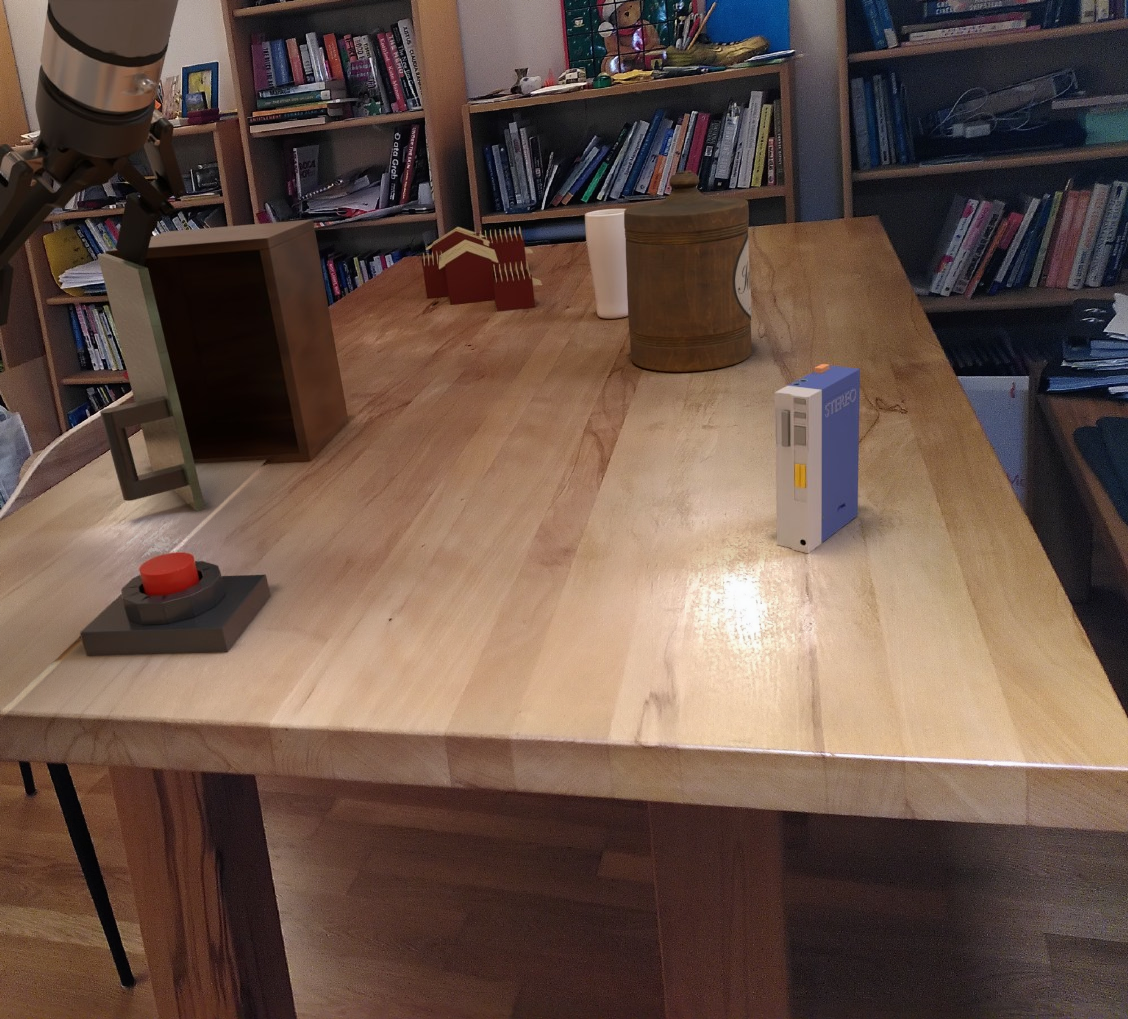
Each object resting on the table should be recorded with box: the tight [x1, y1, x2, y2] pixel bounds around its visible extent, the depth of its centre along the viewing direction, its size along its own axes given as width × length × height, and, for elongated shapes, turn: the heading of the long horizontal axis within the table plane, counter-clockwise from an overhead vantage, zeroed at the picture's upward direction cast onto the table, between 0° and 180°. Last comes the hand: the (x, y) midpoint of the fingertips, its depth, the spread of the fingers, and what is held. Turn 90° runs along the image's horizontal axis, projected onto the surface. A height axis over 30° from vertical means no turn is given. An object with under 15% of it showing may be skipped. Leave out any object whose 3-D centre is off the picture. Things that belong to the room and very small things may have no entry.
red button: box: [138, 551, 199, 596], centre depth 72 cm, size 4×4×2 cm
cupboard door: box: [97, 252, 206, 512], centre depth 94 cm, size 6×16×22 cm, turn 34°
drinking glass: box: [584, 208, 628, 320], centre depth 152 cm, size 7×7×15 cm
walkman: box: [774, 363, 861, 554], centre depth 76 cm, size 8×3×12 cm, turn 139°
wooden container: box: [624, 170, 752, 373], centre depth 125 cm, size 15×15×22 cm
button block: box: [79, 560, 272, 657], centre depth 72 cm, size 10×8×4 cm
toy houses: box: [420, 226, 543, 312], centre depth 184 cm, size 45×20×10 cm, turn 6°
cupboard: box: [104, 219, 350, 465], centre depth 107 cm, size 13×16×22 cm
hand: (64, 284), depth 88 cm, fingers open, 13 cm apart
